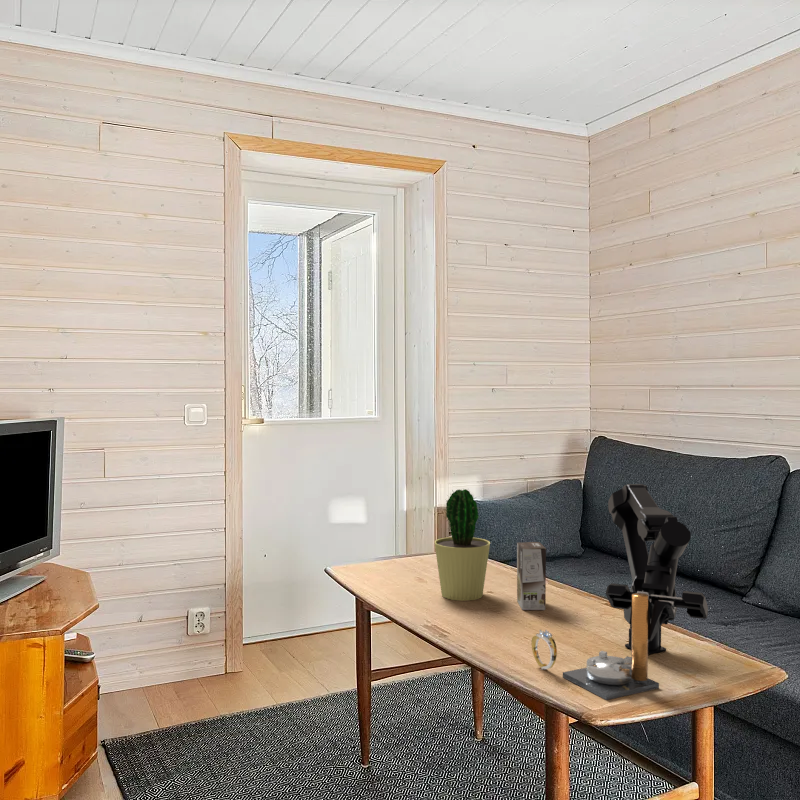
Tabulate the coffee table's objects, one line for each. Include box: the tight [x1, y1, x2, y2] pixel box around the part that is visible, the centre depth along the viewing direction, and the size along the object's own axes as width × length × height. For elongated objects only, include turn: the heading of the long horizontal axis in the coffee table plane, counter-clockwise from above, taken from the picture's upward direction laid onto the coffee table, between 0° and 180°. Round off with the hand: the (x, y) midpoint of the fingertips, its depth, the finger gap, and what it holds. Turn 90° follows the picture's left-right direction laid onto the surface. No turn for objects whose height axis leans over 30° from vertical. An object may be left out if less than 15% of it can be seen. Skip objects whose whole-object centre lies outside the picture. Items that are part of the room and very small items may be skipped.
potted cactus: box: [434, 488, 491, 602], centre depth 225 cm, size 15×15×30 cm
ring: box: [530, 629, 558, 671], centre depth 168 cm, size 7×3×8 cm, turn 22°
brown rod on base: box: [586, 593, 649, 685], centre depth 159 cm, size 12×9×17 cm
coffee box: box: [516, 541, 547, 611], centre depth 215 cm, size 9×6×16 cm
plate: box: [562, 667, 660, 701], centre depth 161 cm, size 13×13×1 cm
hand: (649, 640), depth 157 cm, fingers closed
